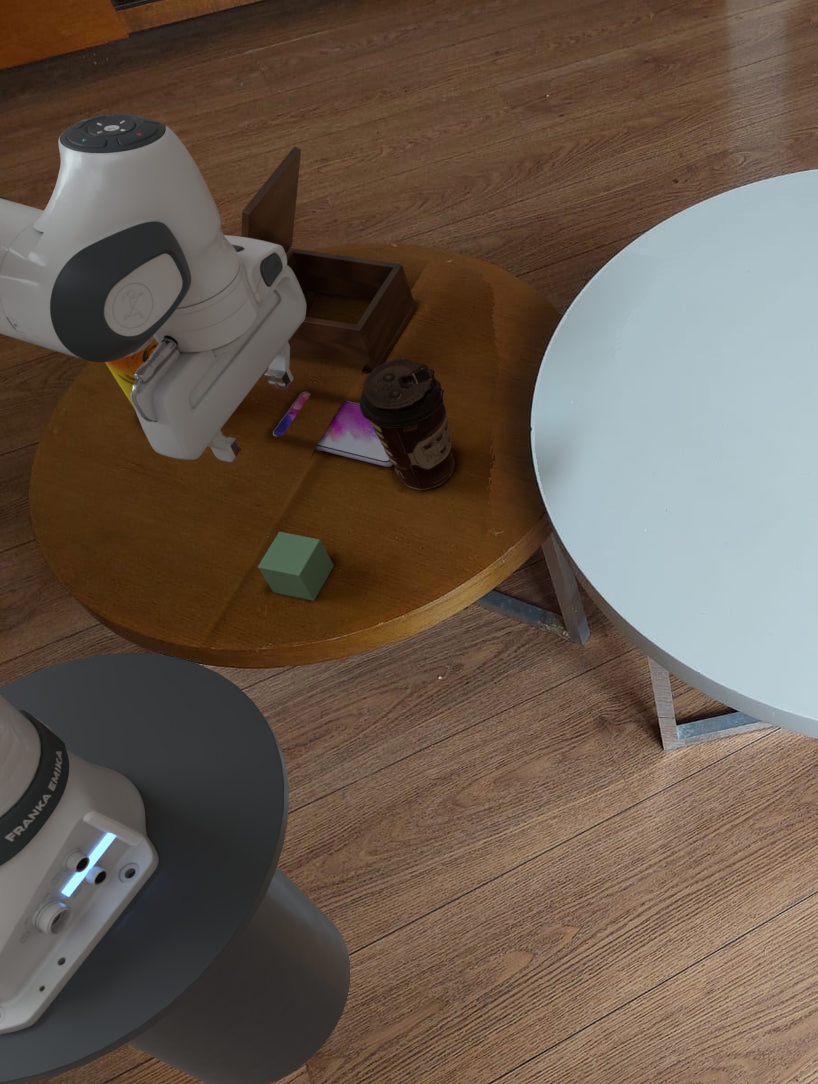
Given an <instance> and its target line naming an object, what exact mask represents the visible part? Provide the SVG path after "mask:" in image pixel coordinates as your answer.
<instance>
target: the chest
mask: <svg viewBox="0 0 818 1084" xmlns="http://www.w3.org/2000/svg"><path fill="white" fill-rule="evenodd" d="M286 256H287V265H288V266H289V267H290V268H291V269H292V270H293V272H294V274H295V276H296V278H297V280H298V282H299V285H300V287H301V289H302V292H303V294H304V297H305V300H306V305H307V306H306V316H305V320H304V321H303V322H302V324H301V325H300V326H299V327H298V329H297V330H296V331H295V333H294V334H293V335H292V337H291V338H290V339H289V340H288V343H289V345H290V356H296V357H304V358H305V357H306V358H314V359H321V360H322V359H323V360H329V361H339V362H347V363H355V364H364V366H363V368H362V370H361V372H365V373H369V374H370V373H371V371H373V370H374V369H375V368H377V367H378V366H380V365H382V364H384V363H385V361H386V359H387V358H388V356H389V354H390V352H391V351H392V349H393V348H394V346H395V344H396V343H397V341H398V340H399V337H400V336H401V334H402V333H403V331H404V330H405V328H406V326H407V325H408V323H409V321H410V320H411V318H412V317H413V315H414V313H415V311H416V309H417V306H416V303H415V299H414V296H413V294H412V291H411V288H410V284H409V282H408V278H407V275H406V272H405V269H404V266H403V264H402V263H397V262H396V263H395V262H388V261H382V260H374V259H370V258H369V259H368V258H362V257H360V258H359V257H356V256H354V257H353V256H349V255H341V254H335V253H329V252H328V253H327V252H322V251H315V250H308V249H301V248H296V247H291V248H290V249H289V251H288V252H287V253H286ZM317 294H324V295H335V296H344V297H354V298H363V299H372V300H371V302H370V303H369V305H368V306H367V308H366V309H365V311H364V312H363V314H362V316H361V317H360V319H359V320H358V321H357V324H354V323H349V322H342V321H336V320H329V319H323V318H316V317H311V316H308V315H309V313H310V311H311V308H312V306H313V303H314V301H315V299H316V296H317Z"/></svg>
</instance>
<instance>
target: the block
mask: <svg viewBox="0 0 818 1084" xmlns="http://www.w3.org/2000/svg"><path fill="white" fill-rule="evenodd" d="M334 567H335V564H334V563H333V561H332V559H331V557H330V555H329V554H328V552H327V550H326V548H325V546H324V544H323V543H322V540H321V539H320V538H314V537H309V536H305V535H300V534H295V533H288V532H284V531H278V533H277V534H276V536H275V538H274V540H273V541H272V542H271V544H270V546H269V548H268V549H267V551H266V553H265V554H264V555H263V558H262V559H261V561H260V563H259V564H258V566H257V569H258V570H259V572H260V573H261V575H262V576H263V578H264V580H265V581H266V582H267V584H268V586H269V587H270V589H271V591H272V592H273V593H274V594H278V595H284V596H288V597H293V598H299V599H302V600H309V601H312V602H315V601H316V599H317V597H318V595H319V593H320V592H321V590H322V588H323V586H324V584H325V583H326V581H327V579H328V577H329V575H330V573H331V572H332V570H333V568H334Z"/></svg>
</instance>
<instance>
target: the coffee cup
mask: <svg viewBox="0 0 818 1084" xmlns="http://www.w3.org/2000/svg"><path fill="white" fill-rule="evenodd" d="M435 373H436V371H435V370H433V369H432V368H430V367H428V365H426V364H424V363H419V362H417V361H414V360H411V359H408V358H404V359H403V358H394V359H392V360H388V361H387V362H383V364H382V365H380V366H378V367H377V368H375V369H374V370H373V371H371V373H370V372H369V373H368V375H367V377H366V378H365V379H364V384H363V387H362V392H361V394H360V398H359V404H360V410H361V412H362V414H363V416H364V417H365V418H366V419H367V420H369V421H370V423H371V425H372V426H373V427H374V429H375V433H376V435H377V436H378V438H379V440H380V442H381V444H382V445H383V447H384V450H385V452H386V454H387V456H388V458H389V460H390V462H391V463H392V464H393V465H392V466H394V472H395V474H396V476H397V478H398V479H399V480H400V481H401V482H402V483H403V484H404V486H407V487H408V488H411V489H414V490H418V491H423V490H430V489H434V488H436V487H438V486H441V485H442V484H443V483H445V482H446V481H447V480H448V479H449V478H450V477H451V476H452V474H453V473H454V469H455V458H454V455H453V453H452V446H453V445H452V436H451V433H450V428H449V419H448V415H447V408H446V405H445V404H444V399H443V397H444V393H445V390H444V389H443V388H442V385H441V382H440V381H439V380H438V379H437V378H435Z"/></svg>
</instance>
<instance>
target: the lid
mask: <svg viewBox="0 0 818 1084" xmlns="http://www.w3.org/2000/svg"><path fill="white" fill-rule="evenodd" d="M301 155H302V149H301V148H299V147H298V146H295V145H294V146H293V147H292V148H291V150H290V151H289V152H288V153H287V154H286V156H285V157H284V158H283V160H281V162H280V163H279V165H277V167H276V168H275V169H274V171H273V172H272V173H271V175H270V176H269V177H268V178H267V179H266V180H265V182H264V183H263V184H262V185H261V187H260V188H259V189H258V190H257V192H256V193H255V195H254V196H253V197H252V198H251V199H250V201H249V202H248V203H247V204H246V205H245V207H244V208H243V209H242V210H241V225H240V227H241V228H240V229H241V230H240V237H246V238H252V239H257V240H262V241H267V242H271V243H274V244H278V245H281V246H282V247H283V248H284V250H285V253H287V252H288V251H289V249H290V248H293V239H294V229H295V219H296V207H297V197H298V187H299V177H300V167H301V166H300V165H301Z"/></svg>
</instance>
